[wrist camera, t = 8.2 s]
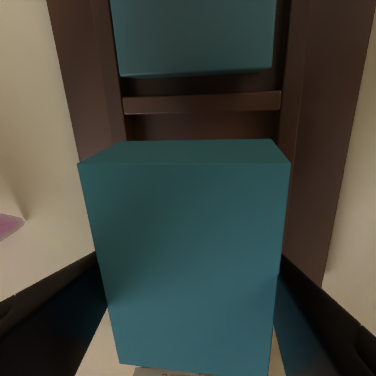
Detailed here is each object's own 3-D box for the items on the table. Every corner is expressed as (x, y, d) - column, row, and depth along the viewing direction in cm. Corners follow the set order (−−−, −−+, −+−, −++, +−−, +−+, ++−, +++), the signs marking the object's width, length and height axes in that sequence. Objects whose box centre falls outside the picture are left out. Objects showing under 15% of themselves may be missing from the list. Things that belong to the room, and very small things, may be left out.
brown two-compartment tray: (415, -274, 8) (574, -578, 4) (315, 278, 16) (341, 335, 12) (22, -184, 10) (-95, -338, 6) (109, 265, 18) (78, 311, 15)
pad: (271, 138, 9) (291, 163, 6) (257, 312, 12) (267, 382, 9) (119, 140, 10) (75, 163, 7) (143, 302, 12) (119, 364, 10)
